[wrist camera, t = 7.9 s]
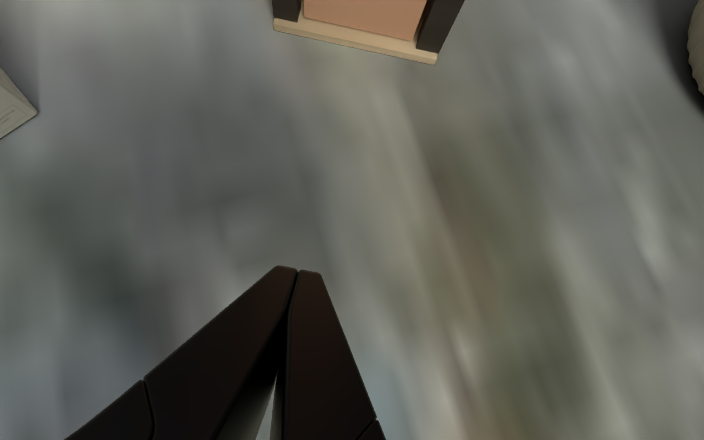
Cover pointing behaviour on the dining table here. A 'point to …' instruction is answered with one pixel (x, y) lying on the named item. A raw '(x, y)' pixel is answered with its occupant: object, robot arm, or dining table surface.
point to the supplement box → (12, 106)
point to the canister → (697, 44)
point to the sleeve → (422, 48)
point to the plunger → (369, 15)
